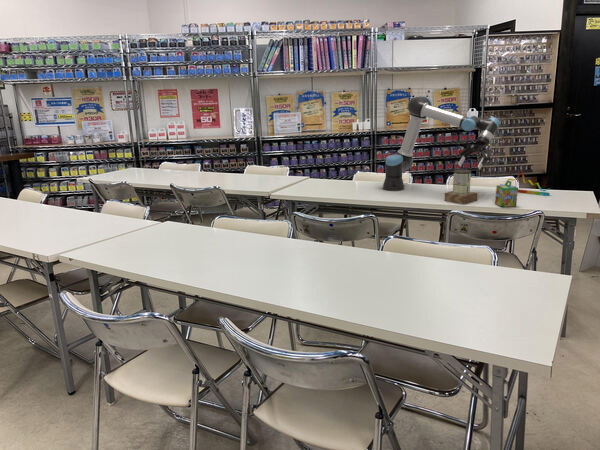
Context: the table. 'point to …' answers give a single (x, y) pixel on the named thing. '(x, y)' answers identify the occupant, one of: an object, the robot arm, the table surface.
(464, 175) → the coffee can
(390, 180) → the robot arm
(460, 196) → the walnut block
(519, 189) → the chart
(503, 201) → the colourful patterned gift box
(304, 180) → the table surface
